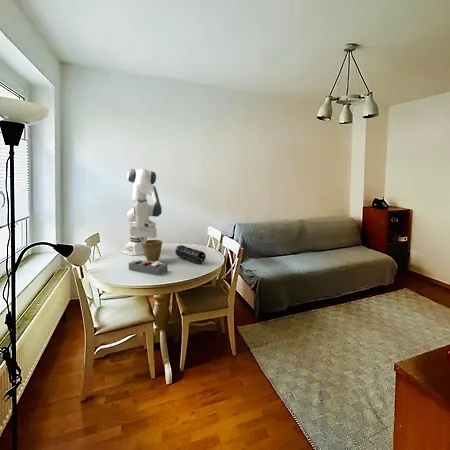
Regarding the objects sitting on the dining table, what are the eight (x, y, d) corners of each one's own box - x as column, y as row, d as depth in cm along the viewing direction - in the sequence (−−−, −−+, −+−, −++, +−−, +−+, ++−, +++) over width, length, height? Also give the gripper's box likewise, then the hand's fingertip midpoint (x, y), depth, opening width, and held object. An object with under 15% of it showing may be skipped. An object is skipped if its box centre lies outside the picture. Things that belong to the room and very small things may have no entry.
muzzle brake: (196, 266, 221) (196, 252, 219) (174, 258, 240) (173, 245, 238) (206, 263, 227) (206, 250, 225) (183, 255, 247) (183, 243, 245)
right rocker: (151, 267, 203) (150, 264, 202) (156, 263, 208) (156, 260, 207) (155, 267, 201) (154, 265, 201) (160, 263, 206) (160, 261, 206)
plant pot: (166, 260, 233) (166, 240, 230) (153, 265, 220) (152, 244, 217) (152, 257, 240) (151, 238, 237) (138, 262, 227) (137, 242, 224)
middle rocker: (141, 263, 205) (141, 261, 205) (147, 263, 211) (147, 260, 211) (145, 264, 204) (145, 262, 204) (151, 263, 209) (151, 261, 209)
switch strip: (128, 269, 211) (128, 262, 210) (138, 265, 220) (138, 258, 219) (158, 275, 200) (158, 267, 199) (167, 270, 209) (167, 263, 208)
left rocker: (132, 262, 209) (132, 259, 209) (138, 261, 214) (138, 259, 214) (136, 263, 207) (136, 260, 207) (142, 262, 213) (142, 260, 213)
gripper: (127, 222, 202) (128, 242, 204) (151, 225, 193) (152, 245, 196) (133, 221, 207) (134, 240, 210) (157, 223, 199) (158, 243, 201)
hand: (143, 243), depth 203 cm, fingers closed
